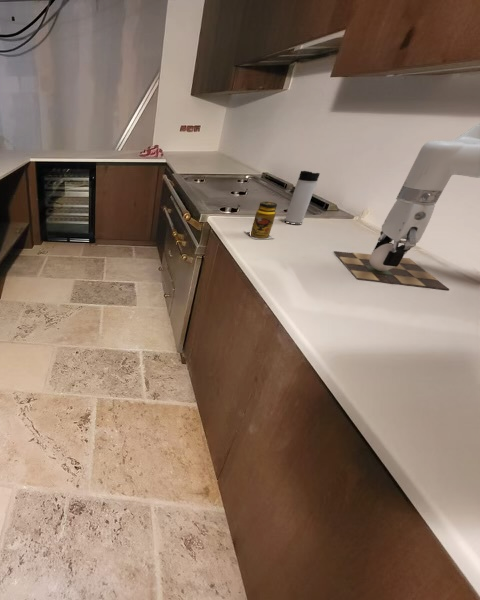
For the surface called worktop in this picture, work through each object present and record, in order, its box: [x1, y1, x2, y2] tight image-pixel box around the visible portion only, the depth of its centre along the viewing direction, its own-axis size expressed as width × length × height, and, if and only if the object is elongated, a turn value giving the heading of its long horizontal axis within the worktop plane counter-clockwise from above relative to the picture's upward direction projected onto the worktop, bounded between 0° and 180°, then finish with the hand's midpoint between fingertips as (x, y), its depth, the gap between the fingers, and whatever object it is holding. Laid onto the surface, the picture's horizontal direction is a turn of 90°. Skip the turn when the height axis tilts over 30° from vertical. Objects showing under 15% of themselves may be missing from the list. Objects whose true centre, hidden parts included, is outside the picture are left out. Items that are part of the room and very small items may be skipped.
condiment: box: [245, 201, 278, 240], centre depth 115 cm, size 7×8×12 cm
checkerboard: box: [333, 250, 450, 291], centre depth 93 cm, size 20×20×1 cm
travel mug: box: [284, 170, 321, 225], centre depth 125 cm, size 6×7×20 cm
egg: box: [369, 242, 395, 271], centre depth 90 cm, size 6×6×8 cm
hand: (384, 259), depth 90 cm, fingers closed on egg, 6 cm apart
